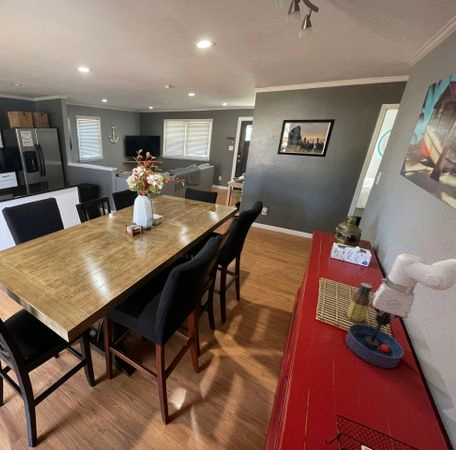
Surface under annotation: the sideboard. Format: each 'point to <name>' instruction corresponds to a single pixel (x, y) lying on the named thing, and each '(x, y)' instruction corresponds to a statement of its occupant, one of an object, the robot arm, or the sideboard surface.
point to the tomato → (384, 348)
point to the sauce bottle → (359, 303)
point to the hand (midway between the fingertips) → (380, 323)
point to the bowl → (374, 356)
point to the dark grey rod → (374, 335)
